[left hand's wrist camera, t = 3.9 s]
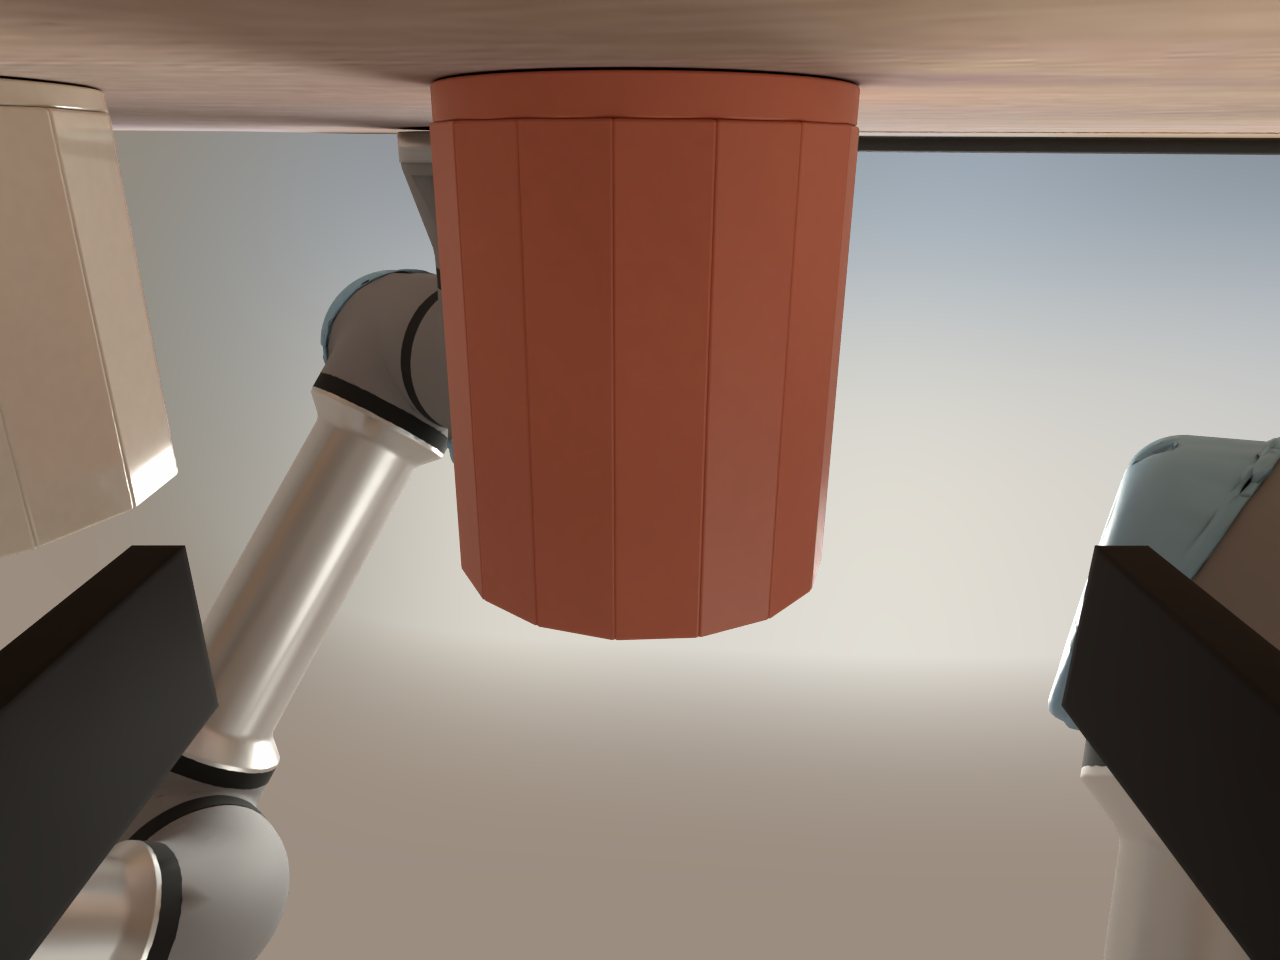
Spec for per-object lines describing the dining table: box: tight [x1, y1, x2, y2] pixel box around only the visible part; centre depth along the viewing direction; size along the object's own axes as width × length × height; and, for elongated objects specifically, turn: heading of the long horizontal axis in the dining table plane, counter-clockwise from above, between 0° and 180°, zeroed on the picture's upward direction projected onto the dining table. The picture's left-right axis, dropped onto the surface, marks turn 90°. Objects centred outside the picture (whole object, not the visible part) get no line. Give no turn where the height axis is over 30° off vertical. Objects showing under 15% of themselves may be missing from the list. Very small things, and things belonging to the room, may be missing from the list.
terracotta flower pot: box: [430, 70, 860, 640], centre depth 21 cm, size 9×9×11 cm
